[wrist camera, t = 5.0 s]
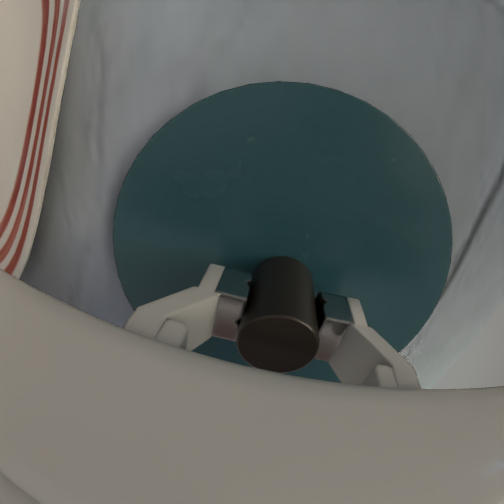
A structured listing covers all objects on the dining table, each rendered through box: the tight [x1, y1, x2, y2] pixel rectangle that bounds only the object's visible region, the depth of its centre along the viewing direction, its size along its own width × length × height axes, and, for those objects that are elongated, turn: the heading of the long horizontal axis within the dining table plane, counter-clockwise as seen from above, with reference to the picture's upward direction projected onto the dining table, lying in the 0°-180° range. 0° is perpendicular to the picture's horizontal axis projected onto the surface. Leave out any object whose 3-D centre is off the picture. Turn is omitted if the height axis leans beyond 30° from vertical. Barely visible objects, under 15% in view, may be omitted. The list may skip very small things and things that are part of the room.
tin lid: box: [113, 81, 452, 383], centre depth 10 cm, size 15×15×5 cm
